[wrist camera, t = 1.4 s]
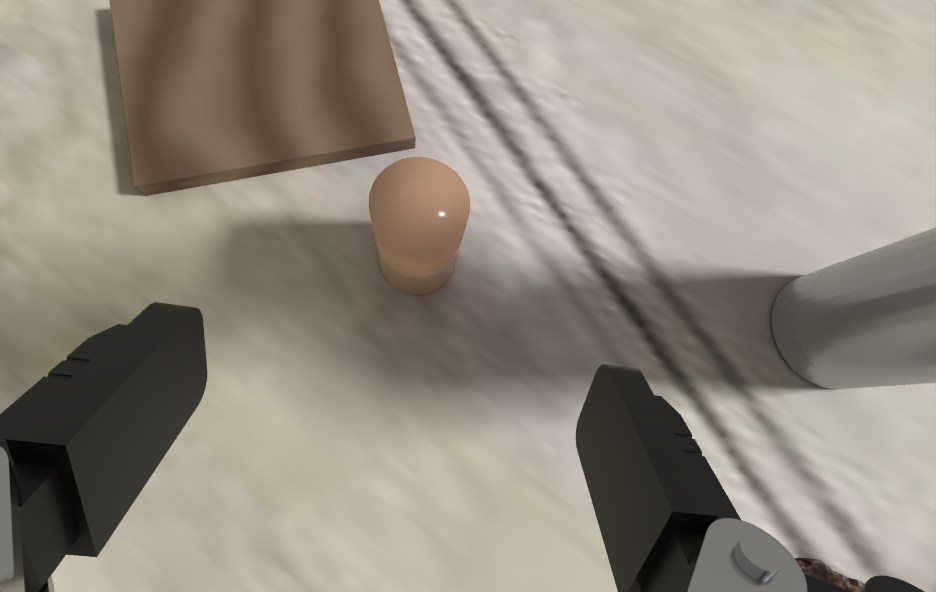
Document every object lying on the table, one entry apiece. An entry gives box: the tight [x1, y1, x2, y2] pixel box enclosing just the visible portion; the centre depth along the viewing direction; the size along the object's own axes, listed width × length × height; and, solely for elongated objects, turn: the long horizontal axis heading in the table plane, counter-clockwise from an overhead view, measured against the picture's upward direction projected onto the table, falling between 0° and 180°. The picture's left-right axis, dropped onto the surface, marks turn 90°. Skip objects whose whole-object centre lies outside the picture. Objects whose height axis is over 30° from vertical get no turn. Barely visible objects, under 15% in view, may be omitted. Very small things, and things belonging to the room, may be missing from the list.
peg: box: [369, 157, 470, 295], centre depth 33 cm, size 6×6×10 cm
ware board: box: [110, 0, 415, 196], centre depth 39 cm, size 20×16×2 cm
